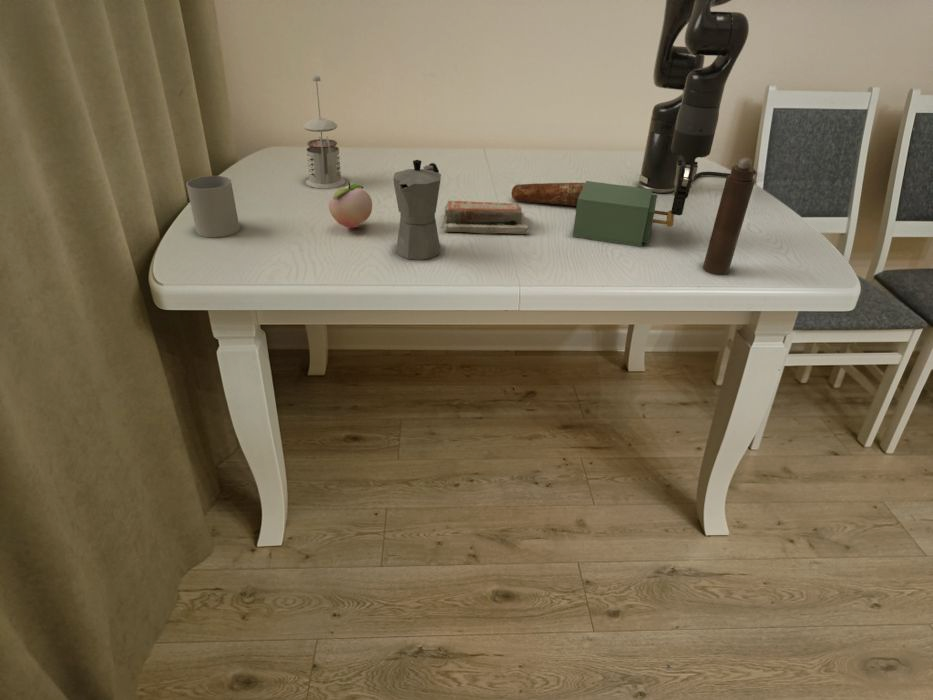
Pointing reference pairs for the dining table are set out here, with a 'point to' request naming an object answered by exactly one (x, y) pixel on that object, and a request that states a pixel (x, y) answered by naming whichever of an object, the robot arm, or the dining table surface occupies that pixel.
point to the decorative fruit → (350, 205)
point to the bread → (548, 193)
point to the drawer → (650, 219)
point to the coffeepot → (417, 211)
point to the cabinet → (612, 213)
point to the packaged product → (484, 217)
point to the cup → (213, 206)
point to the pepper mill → (730, 218)
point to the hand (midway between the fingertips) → (676, 213)
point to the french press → (323, 154)
